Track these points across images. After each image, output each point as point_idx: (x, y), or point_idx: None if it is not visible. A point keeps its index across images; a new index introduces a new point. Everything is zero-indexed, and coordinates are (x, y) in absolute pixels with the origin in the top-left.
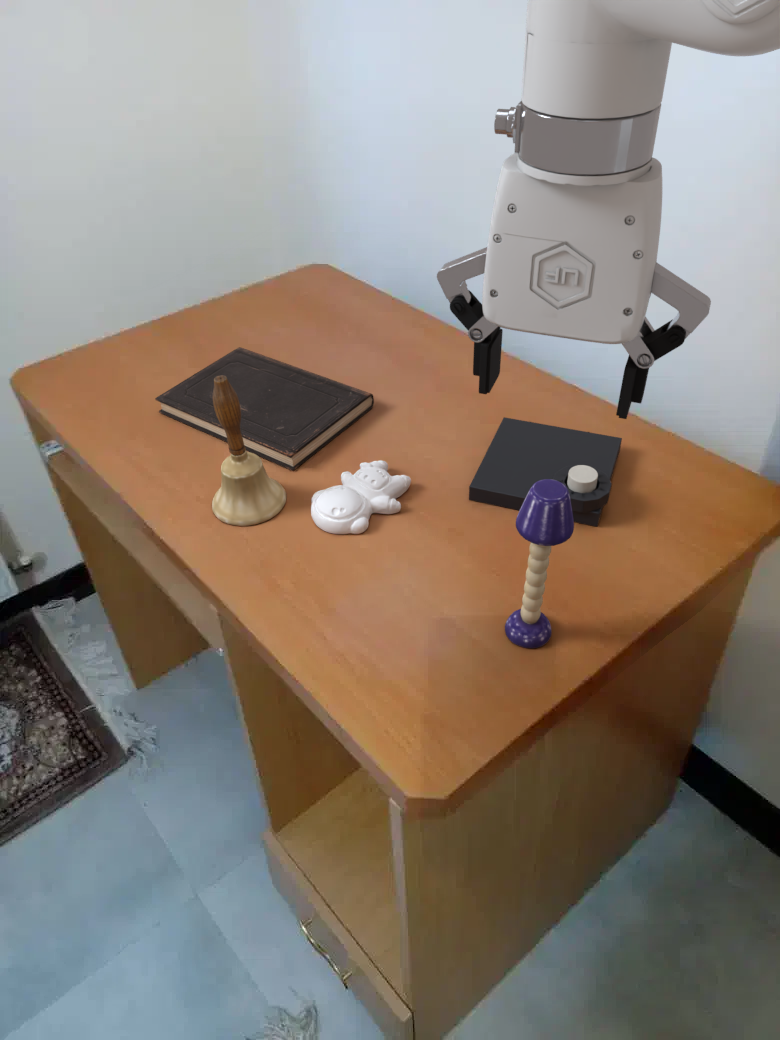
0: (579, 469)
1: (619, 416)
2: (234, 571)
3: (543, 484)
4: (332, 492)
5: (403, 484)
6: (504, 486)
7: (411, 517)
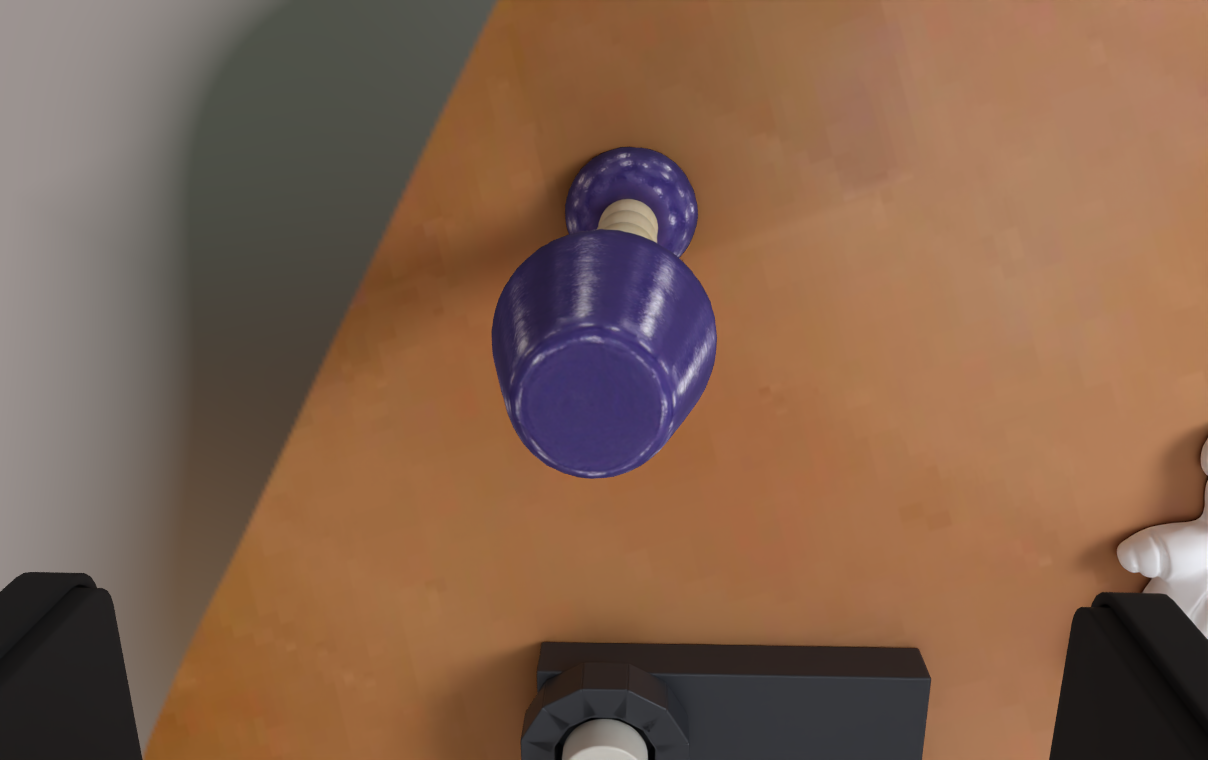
0: None
1: (70, 573)
2: None
3: (625, 429)
4: None
5: None
6: (826, 704)
7: (1072, 535)
